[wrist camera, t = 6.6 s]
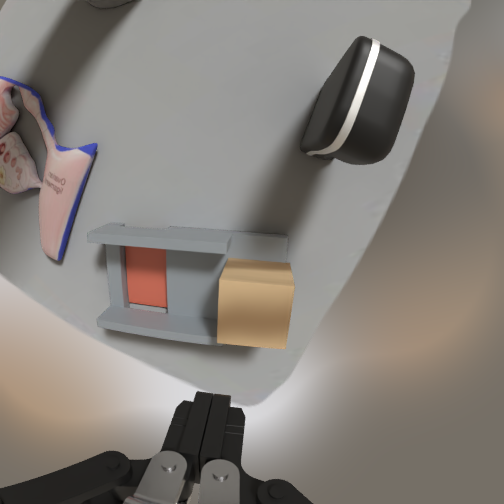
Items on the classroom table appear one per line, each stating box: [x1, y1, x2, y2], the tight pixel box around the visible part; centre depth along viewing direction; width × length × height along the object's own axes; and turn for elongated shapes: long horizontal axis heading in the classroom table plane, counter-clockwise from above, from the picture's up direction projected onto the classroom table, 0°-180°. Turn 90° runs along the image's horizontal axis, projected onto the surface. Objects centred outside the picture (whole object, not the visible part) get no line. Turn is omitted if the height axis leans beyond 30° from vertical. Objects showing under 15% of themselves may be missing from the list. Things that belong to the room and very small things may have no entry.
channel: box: [87, 223, 288, 346], centre depth 25 cm, size 9×16×4 cm, turn 86°
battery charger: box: [300, 36, 415, 165], centre depth 17 cm, size 7×4×11 cm, turn 159°
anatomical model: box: [0, 76, 97, 261], centre depth 23 cm, size 20×3×15 cm
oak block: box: [217, 258, 295, 349], centre depth 23 cm, size 5×5×5 cm
